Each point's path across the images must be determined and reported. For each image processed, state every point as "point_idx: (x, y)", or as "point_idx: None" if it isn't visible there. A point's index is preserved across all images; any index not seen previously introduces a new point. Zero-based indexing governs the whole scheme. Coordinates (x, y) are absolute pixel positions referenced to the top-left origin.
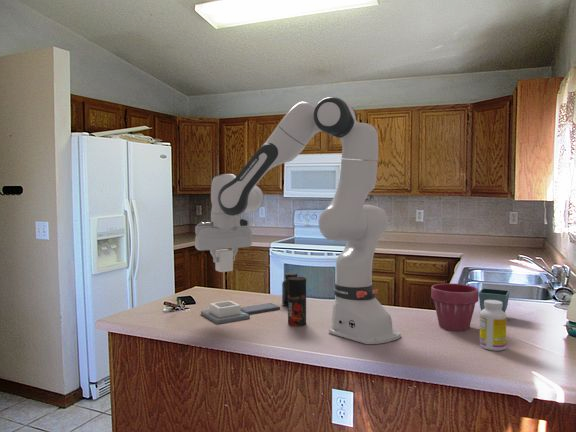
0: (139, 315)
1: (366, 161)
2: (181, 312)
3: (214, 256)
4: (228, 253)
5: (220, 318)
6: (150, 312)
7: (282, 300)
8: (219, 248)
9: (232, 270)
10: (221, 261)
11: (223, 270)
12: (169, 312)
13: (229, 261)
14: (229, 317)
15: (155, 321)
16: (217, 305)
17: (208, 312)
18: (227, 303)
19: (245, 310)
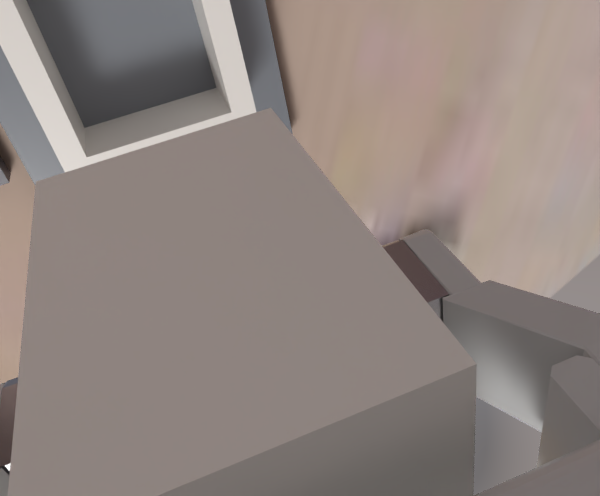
0: (570, 188)
1: None
2: (382, 203)
3: (517, 292)
4: (173, 411)
5: None
6: (512, 231)
7: None
8: (568, 468)
9: (44, 181)
10: (326, 202)
11: (228, 132)
12: (437, 214)
13: (119, 261)
14: None
15: (554, 49)
16: (191, 115)
17: (252, 91)
18: (100, 146)
19: None
